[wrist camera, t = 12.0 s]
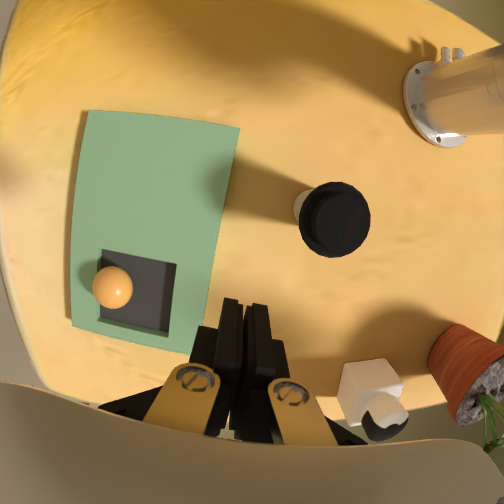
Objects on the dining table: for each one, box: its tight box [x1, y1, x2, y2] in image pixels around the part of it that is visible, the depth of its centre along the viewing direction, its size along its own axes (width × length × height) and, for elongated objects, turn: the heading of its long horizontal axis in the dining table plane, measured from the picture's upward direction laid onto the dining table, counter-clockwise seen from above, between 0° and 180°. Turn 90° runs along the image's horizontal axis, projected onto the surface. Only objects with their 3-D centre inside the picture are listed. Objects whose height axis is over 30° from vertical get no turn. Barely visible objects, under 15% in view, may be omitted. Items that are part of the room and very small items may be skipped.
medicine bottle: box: [337, 358, 409, 442], centre depth 36 cm, size 7×7×12 cm
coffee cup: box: [293, 182, 371, 258], centre depth 30 cm, size 7×7×10 cm
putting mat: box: [70, 110, 240, 355], centre depth 33 cm, size 28×18×2 cm, turn 168°
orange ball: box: [92, 266, 133, 309], centre depth 32 cm, size 5×5×5 cm
